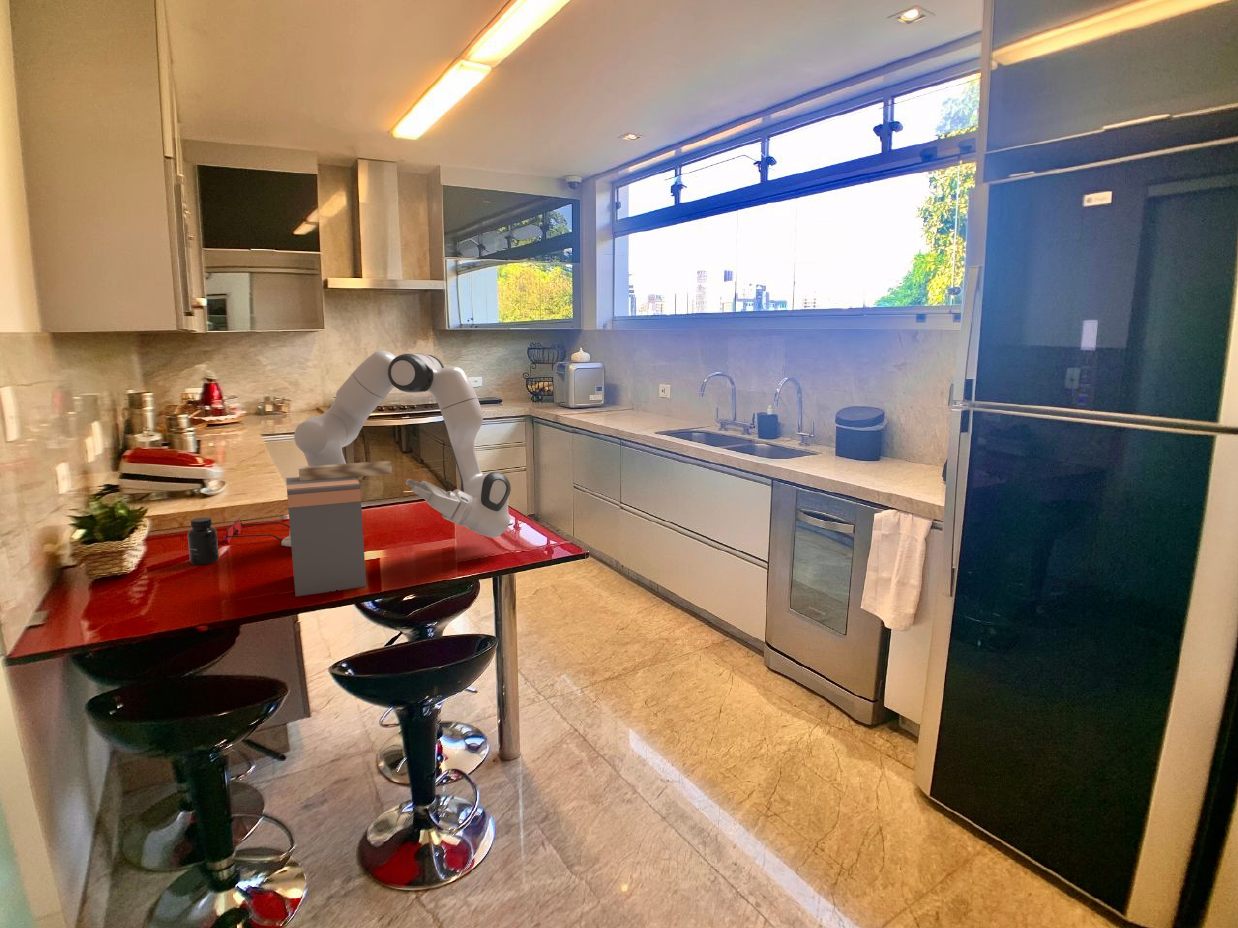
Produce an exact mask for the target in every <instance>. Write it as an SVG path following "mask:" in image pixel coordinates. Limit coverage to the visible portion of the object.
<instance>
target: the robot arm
mask: <svg viewBox="0 0 1238 928" xmlns="http://www.w3.org/2000/svg"><path fill="white" fill-rule="evenodd" d="M394 388H395V389H397V390H399V391H401V392H404V393H425V392H428V393H430V394H431V395H433V397H434V399H435V400H436V402H437V405H438V408H439V410H440V413H441V417H442V418H443V421H444V424H445V426H446V430H447V434H448V438H449V442H450V446H451V450H452V455H453V457H454V461H455V464H456V468H457V471H458V474H459V479H460V489H458V488H456V489H454V490H453V491H451V490H447V491H445V490H444V489H442V488H441V487H439V486H437V485H435V484H433V483H431V482H428V481H426V480H421V481H420V482H419V481H416V480H413V479H412V478H407V480H406V482H405V484H406V486H407V487H410V488H412V489H411V492H412V493H413V494H415V495H416V496H419V497H420V498H421V499H424V500H425V502H426V503H427V504H428V505H429V506H430V507H431V508H433V509H434V510H435V511H437V512H438V513H440V514H441V517H442V518H443V519H444V520H447V521H449V522H452V523H453V524H456V525H457V526H463V527H466V528H467V529H468V530H470V531H472V532H474V533H476V534H478V535H482V536H484V537H487V538H492V539H493V538H498V537H500V536H502V534H503V533H505V532H506V530H507V529H508V527H509V525H510V523H511V516H510V512H509V498H510V494H511V491H512V490H511V488H512V487H511V482H510V480H509V478H508V477H507V476H506V475H505V474H503V473H501V472H499V471H492V472H488V473H483V472H482V470H481V466H480V464H479V460H478V456H477V453H476V450H475V439H476V437H477V434H478V432H479V431H480V429H481V427H482V425H483V421H484V417H483V416H484V415H483V411H482V407H481V404H480V402H479V398H478V395H477V393H476V391H475V388H474V387H473V385H472V383H471V380H470V379H469V377H468V375H467V374H466V372H465V371H464V370H463V368H462V367H458V366H454V365H449V366H445V365H444V364H443V363H442V361H441V360H440V359H438V358H437V357H436V356H434V355H431V354H425V353H419V352H415V353H402V354H399V355H398V356H396V355H395V354H394V353H392V352H391V351H388V350H383V349H379V350H377V351H374V352H373V353H371V354H370V355H369V356H368V357H367V358H366V359H365V360H363V362H361V363H360V364H359V365H358V366H357V367H356V368H355V370H354V371H353V372H352V373H351V374H350V376H348V378H347V379H346V380H345V381H344V382H343V384H341V386H340V387H339V389H338V390H337V391H336V394H335V398H334V401H333V402H332V404H331V405H330V406H329V408H328V409H327V410H326V411H325V412H323V413H321V414H318V415H314V416H310V417H308V418H306V419H305V420H303V421H302V422H301V423H300V424H298V426H297V427H296V428H295V431H294V435H293V436H294V437H293V438H294V441H295V445H296V447H297V448H298V449H299V450H300V451H301V452H302V453H303V455H304V457H305V460H306V462H307V466H318V465H333V464H347V462H346V459H345V456H344V453H343V448H345V447H347V446H349V445H351V443H353V442H354V441H355V440H356V439H357V437H358V436H359V434H360V431H361V430H362V429H363V426H364V425H365V424H366V422H367V420H368V418H369V417H370V416H371V415H372V413H373V412H374V411H375V410H376V409H377V407H378V406H379V405H380V404H381V403H382V401H384V399H385V398H386V397H387V396H388V394H389V393H390V392H391V391H392V390H393V389H394ZM288 534H289V535H288V536H286V537H284V538H283V539H282V541H280V542H281V544H280V545H281V546H285V547H288V548H289V547H291V535H290V531H289V533H288ZM291 548H292V547H291Z"/></svg>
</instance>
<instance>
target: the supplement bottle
mask: <svg viewBox="0 0 1238 928" xmlns="http://www.w3.org/2000/svg"><path fill="white" fill-rule="evenodd" d="M212 525H213V523H212V518H211V517H206V516H204V517H202V516H201V517H196V518H193V519H191V520H190V528H191V529H190V530H188V532H187V543H188V553H189V554H188V555H189V562H190V564H192V565H194V566H203V565H210V564H214V563H216V562H217V561H219V558H220V556H219V555H220V554H219V544H218V533H217V532H218V531H217V529H216V528H215V527H214V526H212Z"/></svg>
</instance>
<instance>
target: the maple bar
mask: <svg viewBox="0 0 1238 928" xmlns="http://www.w3.org/2000/svg"><path fill="white" fill-rule="evenodd" d="M392 467H393V466H392V461H391V460H380V461H365V462H352V463H351V462H350V463H346V464H333V465H318V466H308V465H303V466H298V477H299V479H300V481H303V480H316V479H330V478H343V477H356V478H357V477H366V476H367V477H368V476H369V477H370V476H379V475H380V476H381V475H392V474H393V468H392Z"/></svg>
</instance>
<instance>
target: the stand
mask: <svg viewBox="0 0 1238 928" xmlns="http://www.w3.org/2000/svg"><path fill="white" fill-rule="evenodd" d="M285 481H286V484H285V485H286V497H287V507H288V518H289V519H288V520H289V526H290V528H289V532H290V535H291V554H292V555H291V556H292V557H291V559H292V570H293V572H292V573H293V582H294V593H295V597H302V596H310V595H317V594H323V593H331V592H336V590H338V591H343V590H351V589H356V588H357V589H359V588H364V587H367V579H366V578H367V577H366V576H367V575H366V560H365V559H366V558H365V544H364V527H363V525H364V524H363V512H362V511H363V510H362V508H363V507H362V493H361V492H362V491H361V490H362V489H361V483H360V482H359V480H358V479H357V476H356V477H343V478H330V479H316V480H303V481H300V479H299V476H297V477H285ZM330 591H331V592H330Z"/></svg>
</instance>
